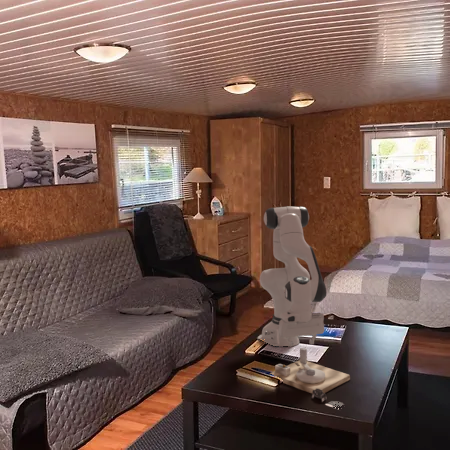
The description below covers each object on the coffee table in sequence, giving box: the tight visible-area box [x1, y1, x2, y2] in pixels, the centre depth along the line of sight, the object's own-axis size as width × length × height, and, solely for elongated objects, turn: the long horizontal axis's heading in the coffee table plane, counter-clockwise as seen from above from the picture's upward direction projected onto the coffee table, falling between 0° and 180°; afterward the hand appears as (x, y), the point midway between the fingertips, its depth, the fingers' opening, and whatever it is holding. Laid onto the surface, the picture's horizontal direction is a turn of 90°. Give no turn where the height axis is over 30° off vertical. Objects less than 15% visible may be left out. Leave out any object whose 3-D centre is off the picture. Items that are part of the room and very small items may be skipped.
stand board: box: [269, 359, 351, 395], centre depth 224 cm, size 26×22×6 cm
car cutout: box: [311, 388, 344, 410], centre depth 203 cm, size 15×7×4 cm, turn 47°
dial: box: [296, 347, 325, 384], centre depth 223 cm, size 20×12×9 cm, turn 9°
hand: (301, 344), depth 229 cm, fingers open, 8 cm apart
